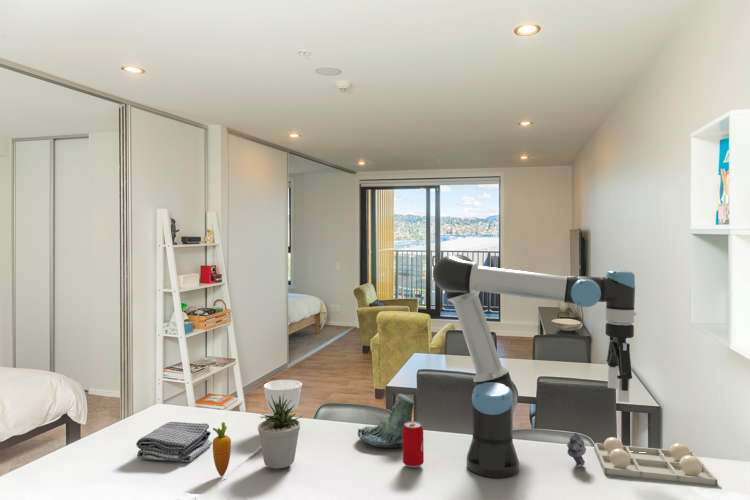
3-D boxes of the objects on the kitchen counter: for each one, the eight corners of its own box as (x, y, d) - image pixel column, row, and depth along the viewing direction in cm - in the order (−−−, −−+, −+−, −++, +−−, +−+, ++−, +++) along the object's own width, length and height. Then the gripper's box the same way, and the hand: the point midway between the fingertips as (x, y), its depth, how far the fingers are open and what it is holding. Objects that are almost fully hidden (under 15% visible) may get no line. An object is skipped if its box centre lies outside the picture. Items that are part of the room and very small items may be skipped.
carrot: (220, 482, 136) (220, 428, 136) (208, 477, 139) (208, 424, 139) (234, 475, 141) (234, 422, 141) (222, 471, 143) (222, 419, 143)
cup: (257, 434, 172) (257, 389, 172) (272, 420, 185) (271, 378, 185) (295, 436, 170) (294, 390, 170) (307, 422, 183) (306, 380, 183)
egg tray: (604, 474, 140) (604, 467, 140) (594, 448, 158) (593, 442, 158) (717, 487, 132) (717, 479, 132) (692, 458, 151) (692, 451, 151)
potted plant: (311, 461, 150) (311, 395, 150) (274, 476, 140) (274, 406, 140) (286, 449, 158) (286, 387, 158) (249, 463, 148) (249, 397, 148)
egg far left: (605, 457, 150) (605, 440, 150) (602, 450, 155) (602, 433, 155) (625, 459, 149) (625, 441, 149) (621, 452, 154) (621, 435, 154)
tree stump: (360, 424, 178) (380, 379, 179) (411, 449, 176) (431, 403, 176) (352, 439, 160) (374, 389, 161) (408, 468, 157) (431, 416, 158)
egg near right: (683, 478, 137) (682, 458, 137) (676, 469, 142) (676, 451, 142) (705, 480, 135) (705, 461, 135) (698, 472, 140) (697, 453, 140)
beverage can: (426, 461, 149) (426, 422, 149) (419, 470, 143) (419, 429, 143) (407, 458, 152) (407, 419, 152) (399, 466, 146) (399, 425, 146)
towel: (164, 441, 166) (164, 418, 166) (214, 445, 163) (214, 422, 163) (134, 460, 151) (134, 435, 151) (188, 465, 148) (188, 439, 148)
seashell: (588, 471, 142) (587, 436, 142) (568, 469, 143) (568, 435, 144) (584, 463, 148) (583, 429, 148) (565, 461, 149) (564, 428, 149)
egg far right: (672, 464, 145) (672, 446, 145) (667, 457, 151) (666, 439, 151) (693, 466, 144) (693, 448, 144) (686, 458, 149) (686, 441, 149)
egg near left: (611, 470, 141) (611, 451, 141) (607, 462, 147) (607, 444, 147) (632, 472, 140) (632, 454, 140) (627, 464, 145) (627, 446, 145)
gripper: (645, 330, 133) (643, 409, 133) (623, 317, 157) (621, 384, 157) (615, 329, 135) (613, 406, 135) (597, 316, 159) (596, 382, 159)
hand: (617, 394), depth 146 cm, fingers open, 13 cm apart
